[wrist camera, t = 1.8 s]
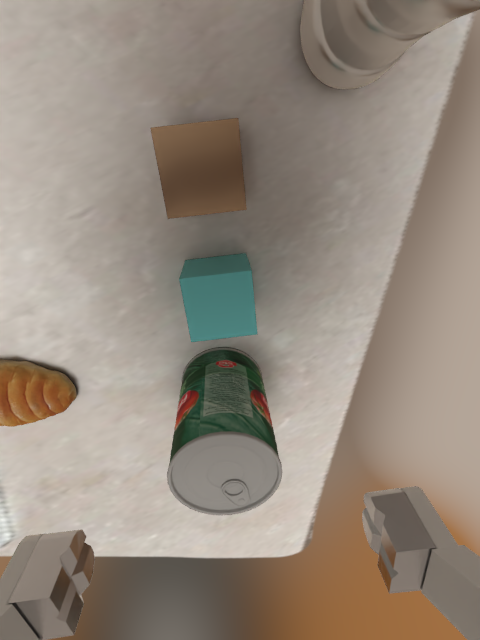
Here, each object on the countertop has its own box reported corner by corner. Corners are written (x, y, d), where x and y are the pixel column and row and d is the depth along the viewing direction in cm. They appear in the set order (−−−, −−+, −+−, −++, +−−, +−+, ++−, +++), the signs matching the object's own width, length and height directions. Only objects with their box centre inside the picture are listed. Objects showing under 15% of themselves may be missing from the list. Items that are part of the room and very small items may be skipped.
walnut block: (163, 135, 23) (150, 127, 18) (233, 127, 23) (238, 117, 19) (176, 209, 25) (167, 218, 21) (241, 201, 25) (246, 209, 21)
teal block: (185, 259, 27) (179, 278, 22) (245, 252, 27) (251, 270, 22) (195, 314, 29) (191, 342, 25) (250, 308, 29) (257, 334, 25)
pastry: (72, 353, 30) (53, 378, 27) (85, 411, 33) (69, 439, 30) (-36, 354, 29) (-69, 379, 26) (-13, 412, 32) (-41, 442, 29)
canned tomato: (167, 365, 31) (144, 460, 21) (243, 334, 30) (257, 418, 20) (203, 423, 34) (198, 528, 24) (273, 396, 33) (297, 494, 24)
